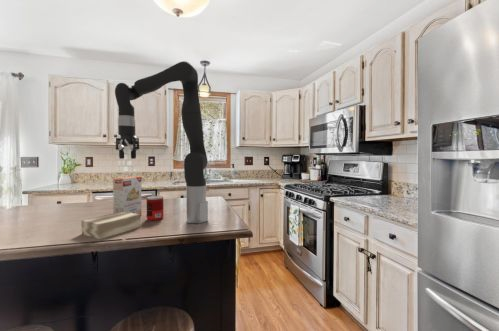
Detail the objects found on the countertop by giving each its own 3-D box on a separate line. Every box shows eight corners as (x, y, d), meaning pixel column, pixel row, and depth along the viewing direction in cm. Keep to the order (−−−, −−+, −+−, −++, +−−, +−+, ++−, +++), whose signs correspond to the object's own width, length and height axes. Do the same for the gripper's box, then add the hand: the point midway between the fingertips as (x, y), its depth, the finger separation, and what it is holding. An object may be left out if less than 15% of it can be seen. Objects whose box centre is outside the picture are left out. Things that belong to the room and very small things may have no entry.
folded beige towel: (140, 227, 110) (140, 214, 110) (99, 239, 95) (99, 224, 94) (123, 224, 116) (122, 211, 116) (81, 235, 100) (81, 220, 100)
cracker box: (124, 223, 117) (123, 178, 116) (112, 222, 118) (112, 178, 118) (142, 215, 131) (141, 176, 130) (132, 215, 132) (131, 175, 131)
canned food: (166, 217, 128) (165, 195, 128) (159, 221, 120) (158, 198, 120) (151, 216, 129) (151, 195, 128) (143, 220, 121) (143, 198, 121)
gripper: (143, 125, 123) (143, 158, 124) (124, 127, 129) (124, 158, 130) (129, 124, 116) (130, 158, 117) (110, 125, 123) (111, 158, 123)
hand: (127, 158), depth 123 cm, fingers open, 8 cm apart
